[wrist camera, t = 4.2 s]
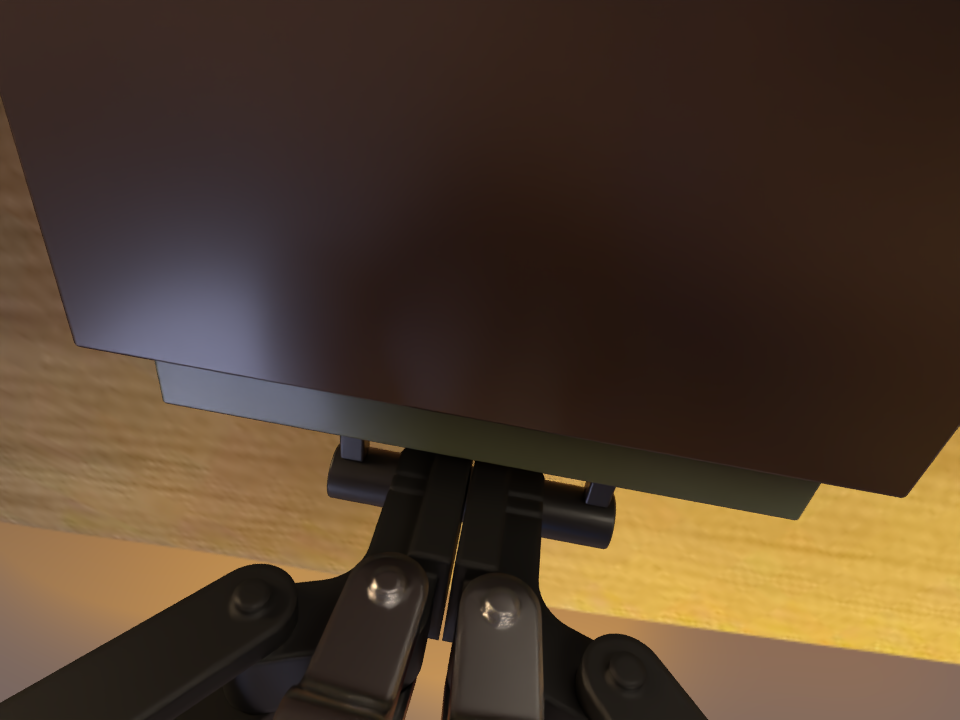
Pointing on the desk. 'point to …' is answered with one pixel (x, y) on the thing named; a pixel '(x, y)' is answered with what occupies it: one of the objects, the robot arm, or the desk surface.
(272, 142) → the cabinet
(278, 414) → the drawer
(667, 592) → the desk surface
